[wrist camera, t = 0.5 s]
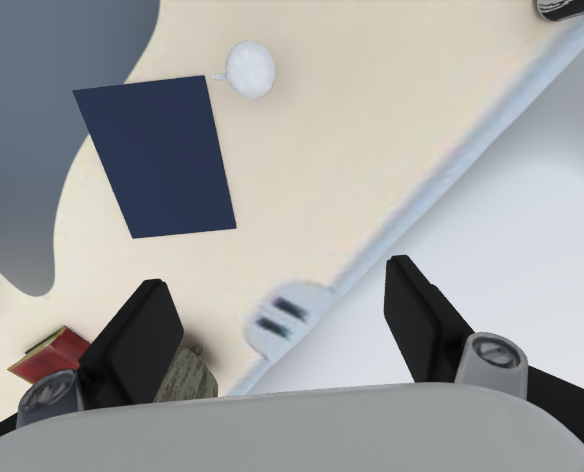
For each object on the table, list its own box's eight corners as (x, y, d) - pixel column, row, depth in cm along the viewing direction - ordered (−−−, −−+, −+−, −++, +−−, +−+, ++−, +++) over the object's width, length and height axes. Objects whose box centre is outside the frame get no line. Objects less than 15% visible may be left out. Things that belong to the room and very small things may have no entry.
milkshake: (228, 63, 31) (204, 46, 22) (272, 51, 31) (266, 29, 22) (240, 105, 33) (222, 105, 24) (281, 94, 33) (279, 90, 24)
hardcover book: (65, 325, 48) (47, 343, 45) (152, 386, 56) (142, 406, 52) (26, 351, 51) (5, 371, 47) (113, 406, 59) (101, 426, 55)
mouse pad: (74, 90, 32) (71, 90, 32) (204, 75, 32) (203, 75, 31) (133, 237, 41) (132, 238, 41) (236, 227, 40) (236, 228, 40)
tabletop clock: (147, 332, 50) (32, 520, 27) (189, 317, 48) (104, 502, 26) (190, 379, 55) (125, 564, 33) (228, 366, 54) (187, 552, 32)
